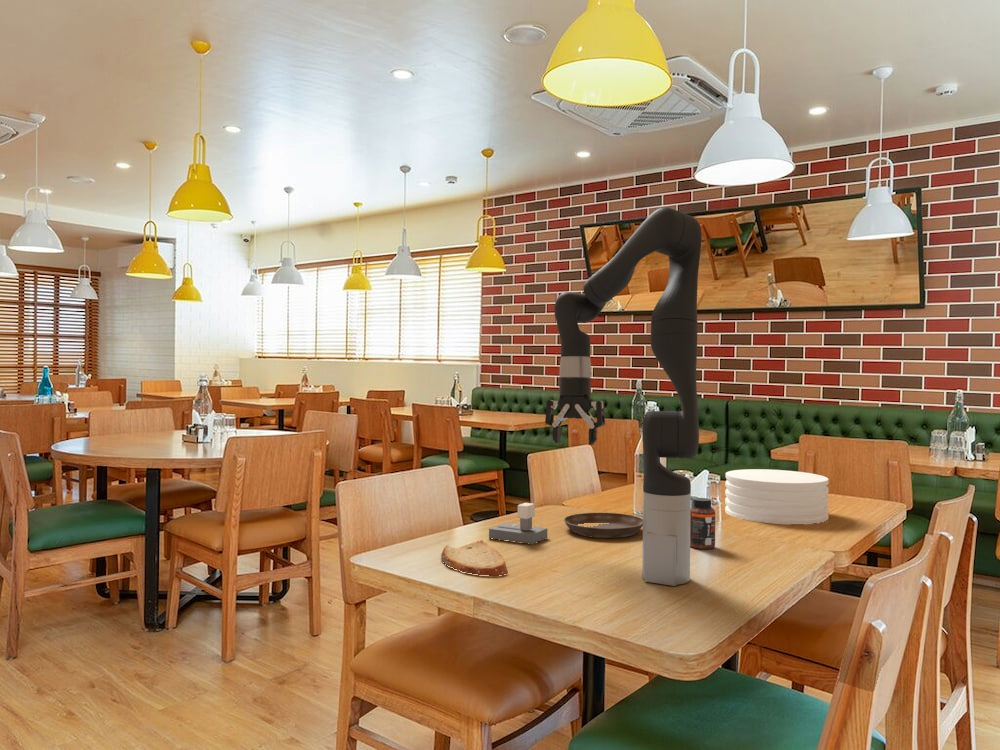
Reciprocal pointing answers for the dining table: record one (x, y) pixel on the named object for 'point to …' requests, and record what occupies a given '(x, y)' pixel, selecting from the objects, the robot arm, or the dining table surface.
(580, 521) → the plant saucer
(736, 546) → the dining table surface
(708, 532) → the supplement bottle
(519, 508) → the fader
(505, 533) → the console panel
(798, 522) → the plate stack
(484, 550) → the bread slice
